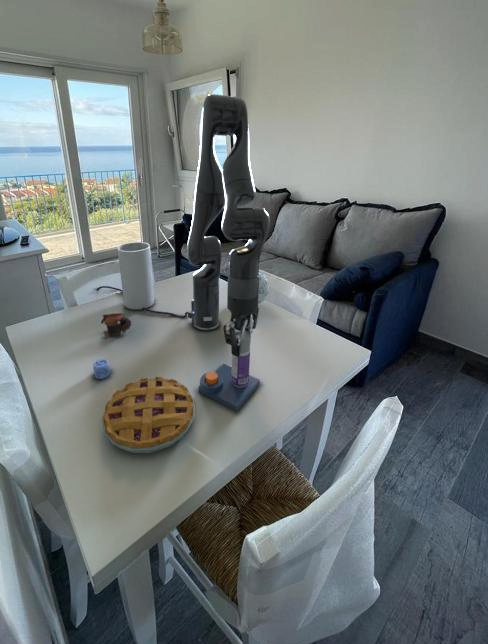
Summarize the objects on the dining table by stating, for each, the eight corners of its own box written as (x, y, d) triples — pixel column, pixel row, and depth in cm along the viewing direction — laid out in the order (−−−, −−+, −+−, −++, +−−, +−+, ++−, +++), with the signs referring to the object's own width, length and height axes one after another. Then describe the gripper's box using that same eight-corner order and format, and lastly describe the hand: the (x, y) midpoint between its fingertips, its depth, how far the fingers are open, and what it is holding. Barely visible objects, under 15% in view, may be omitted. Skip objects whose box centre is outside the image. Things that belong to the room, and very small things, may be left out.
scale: (195, 391, 86) (195, 381, 84) (221, 367, 95) (222, 357, 94) (235, 413, 79) (235, 402, 77) (259, 384, 88) (260, 374, 87)
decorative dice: (94, 371, 94) (93, 360, 92) (109, 368, 95) (107, 357, 93) (95, 380, 90) (93, 369, 89) (110, 377, 91) (108, 365, 90)
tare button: (203, 381, 85) (203, 376, 84) (210, 375, 87) (210, 370, 86) (213, 386, 83) (213, 381, 82) (219, 379, 85) (219, 374, 85)
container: (250, 377, 88) (252, 331, 82) (246, 389, 84) (248, 341, 78) (233, 374, 89) (235, 328, 84) (229, 385, 85) (230, 338, 80)
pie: (203, 450, 69) (203, 433, 67) (98, 470, 65) (95, 453, 63) (188, 382, 89) (187, 367, 87) (107, 394, 85) (104, 379, 83)
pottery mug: (96, 339, 110) (94, 315, 111) (112, 336, 119) (111, 314, 120) (125, 336, 106) (123, 311, 107) (140, 333, 115) (138, 311, 116)
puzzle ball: (252, 293, 142) (254, 261, 137) (275, 306, 130) (278, 272, 125) (224, 301, 135) (224, 268, 130) (245, 316, 123) (247, 280, 118)
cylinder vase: (126, 297, 139) (119, 242, 130) (155, 296, 140) (150, 241, 131) (122, 311, 128) (115, 252, 118) (153, 309, 129) (149, 250, 119)
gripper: (244, 278, 84) (242, 333, 90) (213, 297, 73) (213, 359, 80) (270, 284, 80) (266, 342, 86) (241, 306, 69) (239, 370, 75)
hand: (240, 350), depth 83 cm, fingers closed on container, 4 cm apart
